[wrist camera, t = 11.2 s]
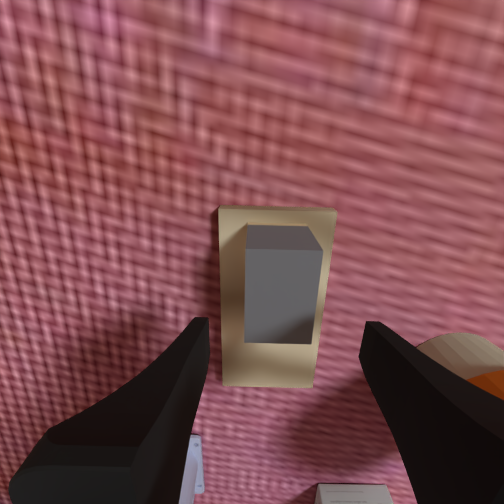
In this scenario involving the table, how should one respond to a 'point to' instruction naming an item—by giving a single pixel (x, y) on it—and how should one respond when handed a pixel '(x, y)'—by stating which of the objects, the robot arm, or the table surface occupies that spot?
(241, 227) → the pine board
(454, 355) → the reusable coffee cup
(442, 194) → the table surface
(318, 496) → the small box
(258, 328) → the block
